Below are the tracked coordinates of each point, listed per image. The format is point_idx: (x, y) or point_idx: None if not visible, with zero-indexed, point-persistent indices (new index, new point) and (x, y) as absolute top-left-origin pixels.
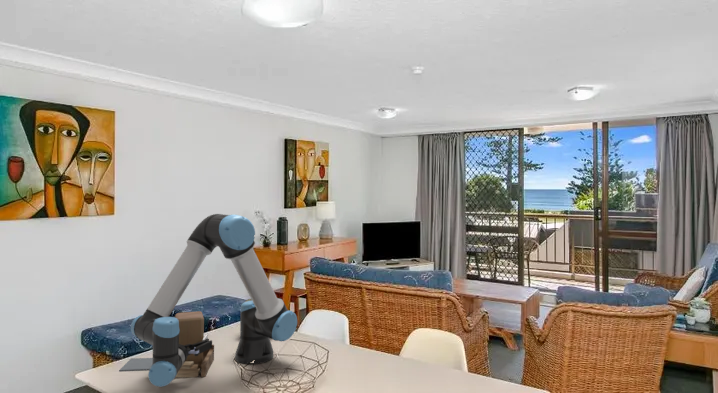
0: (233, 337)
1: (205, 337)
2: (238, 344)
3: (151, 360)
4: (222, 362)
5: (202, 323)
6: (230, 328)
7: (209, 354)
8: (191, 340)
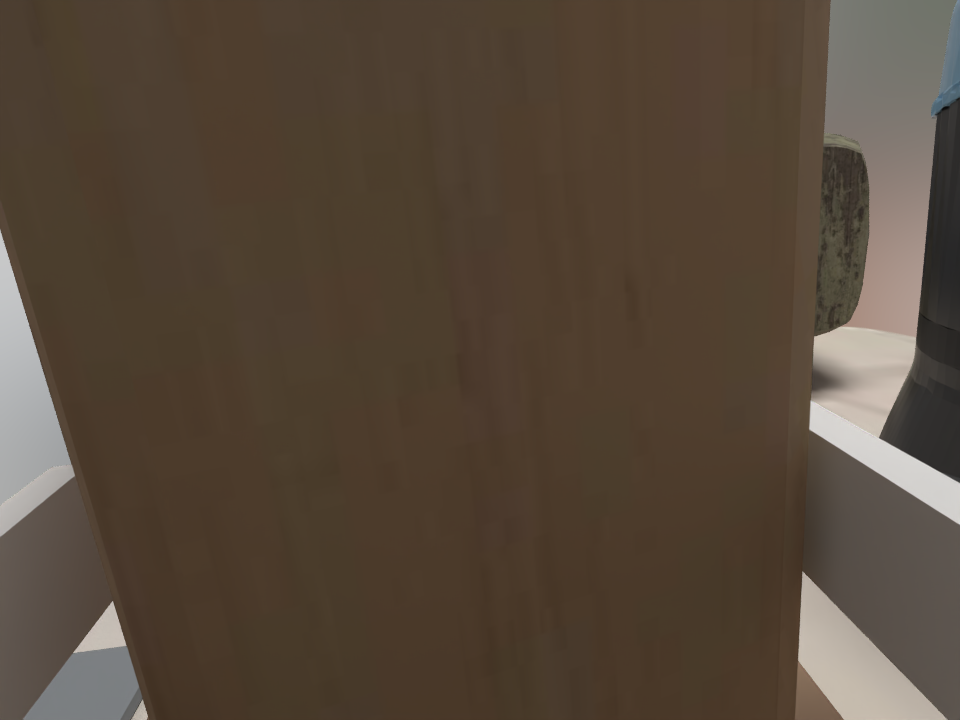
0: None
1: (901, 457)
2: (957, 458)
3: (29, 715)
4: (852, 689)
5: (815, 89)
6: None
7: None
8: (585, 576)
